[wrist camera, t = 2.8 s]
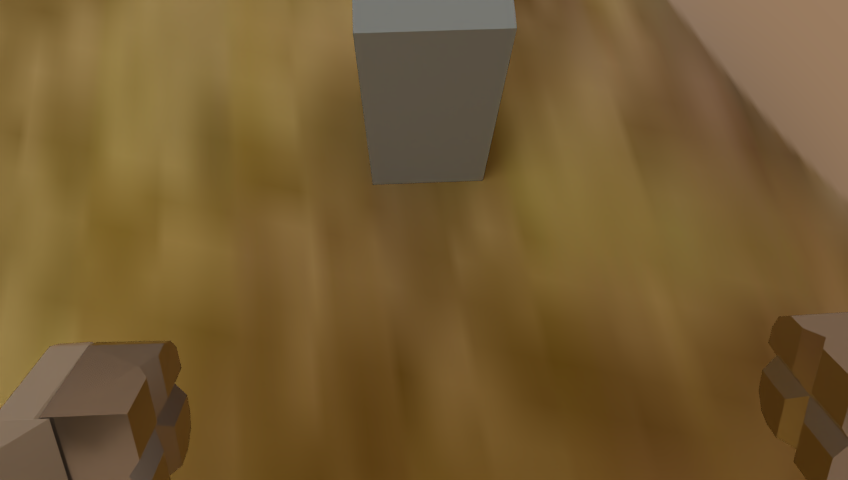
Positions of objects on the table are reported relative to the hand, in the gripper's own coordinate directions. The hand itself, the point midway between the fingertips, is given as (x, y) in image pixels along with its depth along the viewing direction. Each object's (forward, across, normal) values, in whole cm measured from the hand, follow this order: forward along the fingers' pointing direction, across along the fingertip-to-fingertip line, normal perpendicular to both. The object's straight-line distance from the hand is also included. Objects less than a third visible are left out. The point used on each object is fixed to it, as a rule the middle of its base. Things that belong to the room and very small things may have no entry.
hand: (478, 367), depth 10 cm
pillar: (+18, 0, +2) cm, 18 cm away
